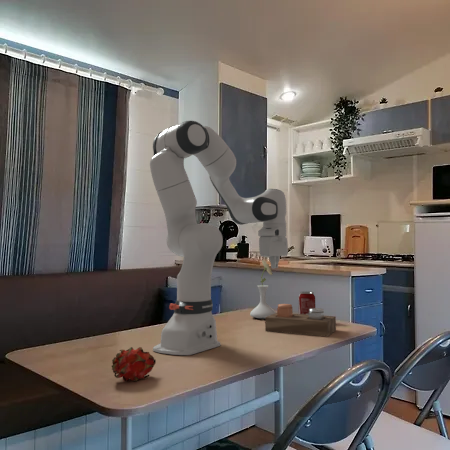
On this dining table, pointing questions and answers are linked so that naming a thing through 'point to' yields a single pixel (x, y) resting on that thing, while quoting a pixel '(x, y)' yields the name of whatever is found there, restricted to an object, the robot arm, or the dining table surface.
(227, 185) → the robot arm
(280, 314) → the terracotta plunger
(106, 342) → the dining table surface
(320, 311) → the metal plunger
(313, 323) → the walnut block
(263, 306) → the flower in vase
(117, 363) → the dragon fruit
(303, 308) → the soda can
